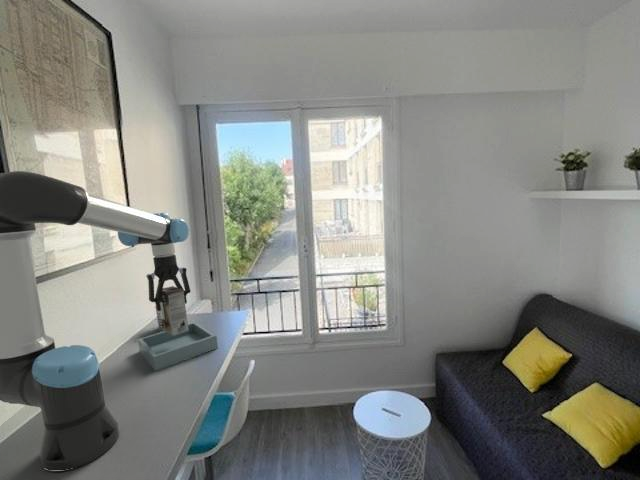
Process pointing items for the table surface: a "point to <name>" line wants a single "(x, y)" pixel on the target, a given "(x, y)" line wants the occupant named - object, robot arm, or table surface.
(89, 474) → the table surface
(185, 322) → the coffee box
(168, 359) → the bin
